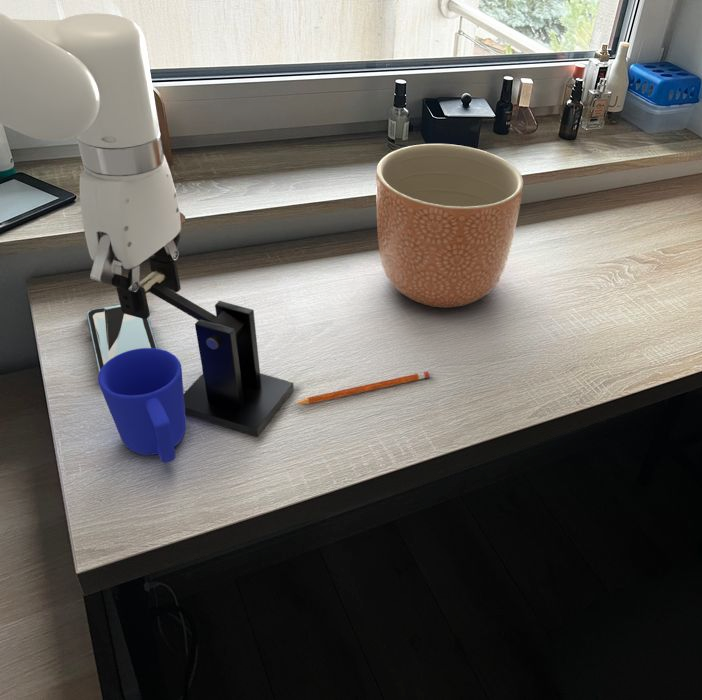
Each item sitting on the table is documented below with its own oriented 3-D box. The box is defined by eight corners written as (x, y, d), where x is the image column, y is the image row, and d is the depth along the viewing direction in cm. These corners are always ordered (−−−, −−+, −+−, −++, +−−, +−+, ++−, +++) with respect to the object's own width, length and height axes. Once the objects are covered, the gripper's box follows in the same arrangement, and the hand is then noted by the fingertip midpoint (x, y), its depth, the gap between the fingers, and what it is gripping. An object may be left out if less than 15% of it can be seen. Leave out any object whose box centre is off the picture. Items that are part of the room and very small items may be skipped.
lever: (127, 299, 80) (129, 284, 79) (154, 277, 84) (157, 262, 83) (223, 355, 81) (227, 341, 80) (246, 330, 85) (250, 316, 83)
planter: (364, 254, 118) (366, 143, 107) (485, 248, 124) (500, 142, 112) (385, 330, 103) (390, 210, 91) (523, 320, 108) (544, 205, 97)
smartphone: (100, 380, 88) (85, 310, 98) (101, 385, 89) (86, 315, 99) (163, 365, 91) (143, 299, 101) (164, 371, 92) (144, 305, 102)
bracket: (174, 411, 86) (156, 326, 79) (216, 367, 93) (203, 284, 85) (257, 436, 85) (248, 352, 77) (293, 389, 92) (288, 307, 84)
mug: (136, 498, 76) (117, 431, 70) (109, 426, 84) (89, 360, 77) (214, 470, 80) (202, 404, 74) (181, 404, 88) (168, 339, 81)
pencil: (429, 378, 96) (429, 374, 95) (295, 407, 89) (295, 403, 88) (427, 374, 96) (427, 370, 96) (293, 403, 89) (293, 399, 89)
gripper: (142, 116, 79) (167, 259, 90) (25, 176, 66) (72, 334, 77) (204, 130, 78) (221, 273, 89) (97, 194, 65) (134, 352, 76)
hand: (152, 300), depth 83 cm, fingers closed on lever, 5 cm apart
